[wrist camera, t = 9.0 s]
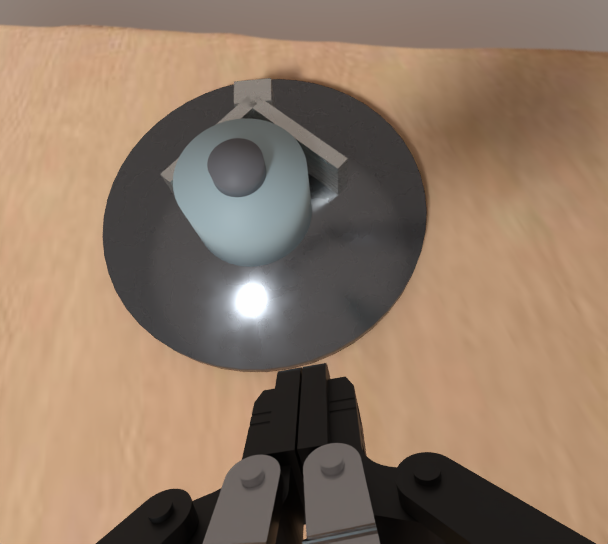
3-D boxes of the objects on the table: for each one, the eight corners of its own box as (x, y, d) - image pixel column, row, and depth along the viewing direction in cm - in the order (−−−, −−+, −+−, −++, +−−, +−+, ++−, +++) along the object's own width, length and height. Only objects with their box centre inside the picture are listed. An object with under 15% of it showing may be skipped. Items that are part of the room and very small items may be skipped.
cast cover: (237, 147, 41) (216, 86, 34) (333, 191, 39) (331, 135, 32) (174, 234, 38) (137, 187, 31) (273, 287, 36) (257, 249, 29)
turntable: (447, 361, 34) (466, 346, 29) (92, 382, 36) (51, 371, 31) (401, 78, 44) (409, 30, 39) (126, 103, 46) (99, 60, 41)
